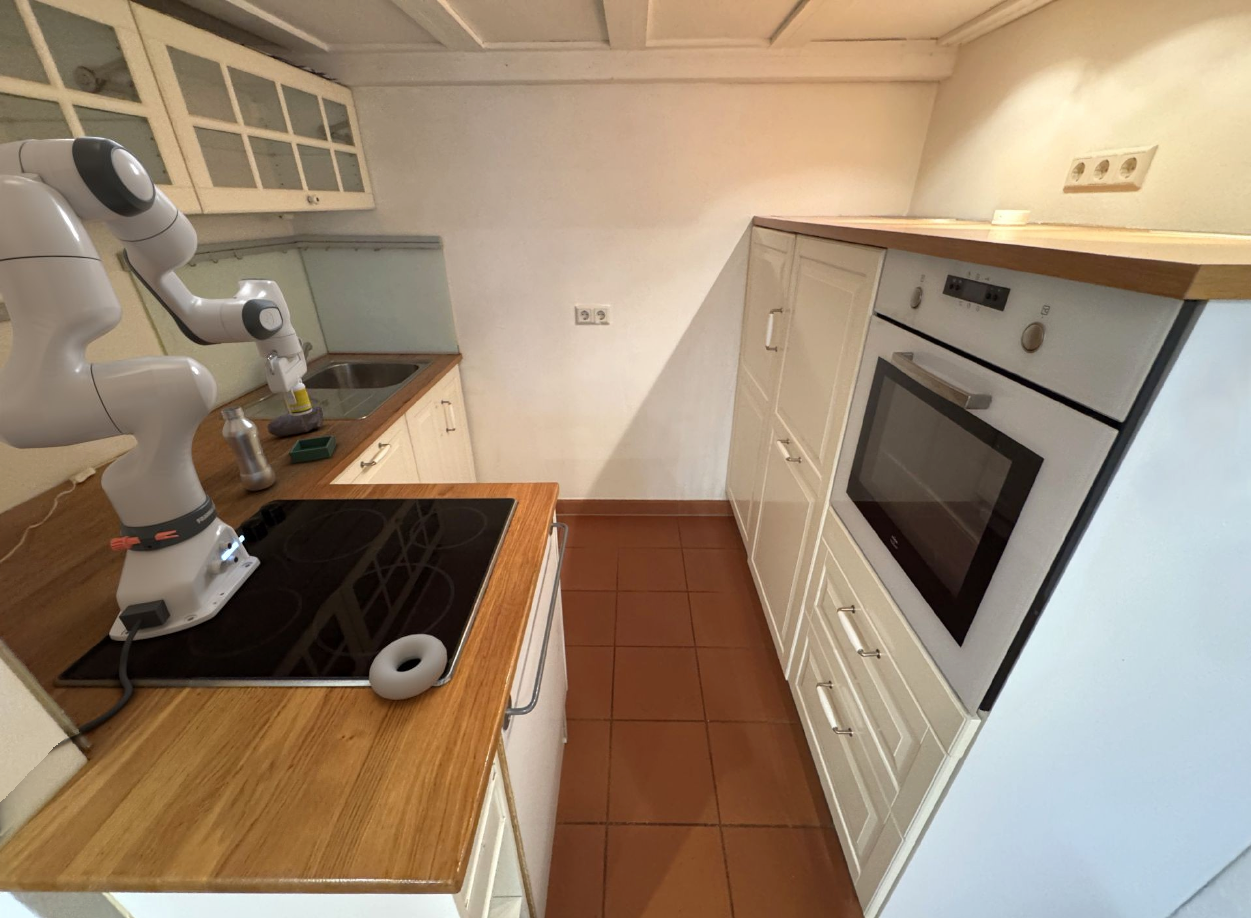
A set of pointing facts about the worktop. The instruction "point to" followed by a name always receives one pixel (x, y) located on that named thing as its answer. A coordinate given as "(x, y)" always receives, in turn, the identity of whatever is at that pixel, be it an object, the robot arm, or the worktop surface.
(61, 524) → the worktop surface
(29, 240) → the robot arm
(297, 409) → the supplement bottle
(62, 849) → the worktop surface
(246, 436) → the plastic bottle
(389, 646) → the donut
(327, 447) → the tray
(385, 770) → the worktop surface
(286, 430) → the perforated stone tool
